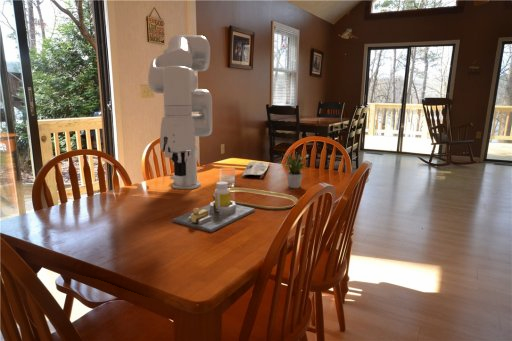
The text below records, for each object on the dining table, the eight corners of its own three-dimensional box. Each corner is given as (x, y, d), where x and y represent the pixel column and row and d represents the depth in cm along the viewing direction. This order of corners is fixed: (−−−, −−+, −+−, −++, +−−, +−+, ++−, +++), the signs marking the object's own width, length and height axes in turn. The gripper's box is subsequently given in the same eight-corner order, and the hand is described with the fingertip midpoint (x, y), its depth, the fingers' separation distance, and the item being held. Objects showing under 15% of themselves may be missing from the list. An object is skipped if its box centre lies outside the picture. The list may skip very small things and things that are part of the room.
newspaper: (248, 165, 211) (248, 159, 210) (269, 165, 210) (269, 159, 209) (241, 179, 177) (241, 172, 176) (267, 180, 176) (267, 173, 175)
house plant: (271, 188, 159) (271, 151, 155) (281, 181, 171) (282, 147, 168) (302, 192, 153) (304, 154, 150) (310, 184, 166) (312, 149, 162)
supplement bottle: (233, 208, 127) (233, 181, 125) (225, 213, 122) (224, 185, 120) (220, 206, 129) (219, 180, 127) (211, 211, 125) (211, 183, 123)
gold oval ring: (286, 214, 127) (287, 210, 126) (204, 200, 142) (204, 196, 142) (304, 200, 143) (305, 196, 143) (229, 189, 159) (229, 185, 158)
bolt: (191, 221, 114) (190, 209, 113) (203, 216, 119) (203, 204, 118) (195, 222, 113) (195, 210, 112) (208, 217, 118) (208, 205, 117)
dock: (172, 221, 117) (172, 211, 116) (219, 203, 137) (219, 194, 136) (211, 232, 109) (211, 221, 108) (254, 211, 128) (254, 201, 128)
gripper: (186, 110, 110) (188, 169, 114) (148, 112, 98) (151, 178, 101) (205, 111, 106) (206, 172, 110) (167, 113, 94) (170, 182, 97)
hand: (180, 175), depth 105 cm, fingers closed
